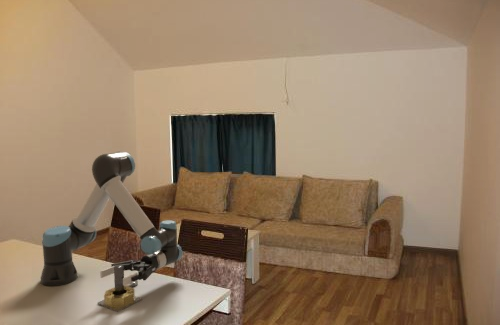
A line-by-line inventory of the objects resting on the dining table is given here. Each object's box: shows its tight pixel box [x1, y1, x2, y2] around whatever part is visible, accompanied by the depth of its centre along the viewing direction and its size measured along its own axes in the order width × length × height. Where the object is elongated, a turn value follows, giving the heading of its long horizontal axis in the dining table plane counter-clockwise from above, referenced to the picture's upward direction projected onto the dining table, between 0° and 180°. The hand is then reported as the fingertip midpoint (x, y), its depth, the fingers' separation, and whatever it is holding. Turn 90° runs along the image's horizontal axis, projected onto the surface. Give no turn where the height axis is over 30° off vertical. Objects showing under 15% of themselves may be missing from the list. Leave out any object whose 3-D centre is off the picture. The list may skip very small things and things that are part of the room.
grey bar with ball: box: [125, 280, 139, 288], centre depth 173 cm, size 14×4×1 cm, turn 147°
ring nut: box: [97, 286, 143, 313], centre depth 160 cm, size 12×12×4 cm
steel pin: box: [113, 265, 125, 295], centre depth 159 cm, size 4×4×14 cm
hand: (111, 278), depth 156 cm, fingers open, 13 cm apart
